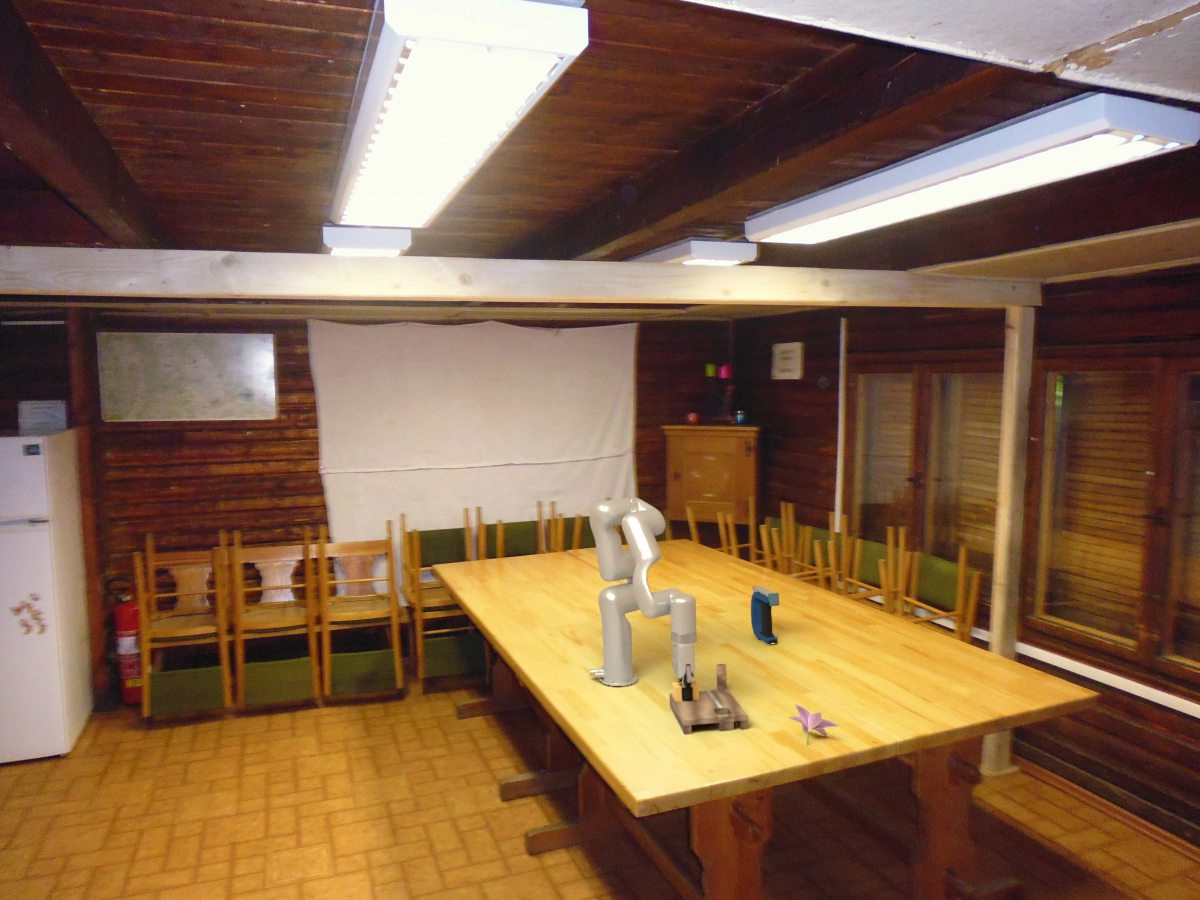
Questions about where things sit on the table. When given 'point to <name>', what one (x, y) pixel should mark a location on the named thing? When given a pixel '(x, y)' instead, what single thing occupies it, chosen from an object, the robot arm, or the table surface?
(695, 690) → the block
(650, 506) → the robot arm
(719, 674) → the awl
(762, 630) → the handheld scanner
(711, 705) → the board
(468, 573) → the table surface
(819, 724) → the lily
